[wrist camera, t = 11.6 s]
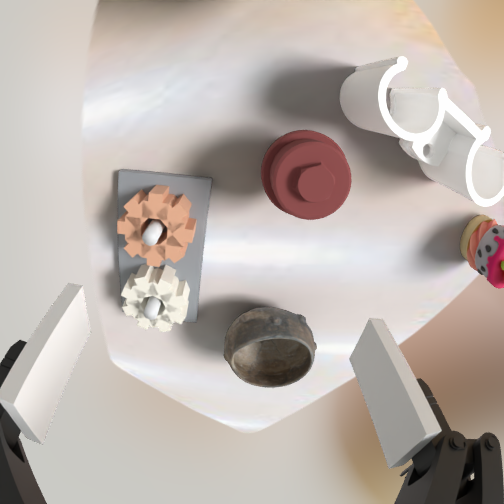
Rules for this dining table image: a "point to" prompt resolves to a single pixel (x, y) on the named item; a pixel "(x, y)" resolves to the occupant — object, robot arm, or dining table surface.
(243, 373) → the bowl
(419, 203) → the dining table surface
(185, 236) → the gear
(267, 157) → the mechanical component
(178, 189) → the gear board
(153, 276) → the gear
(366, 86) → the white joined open cylinders
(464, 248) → the cake
